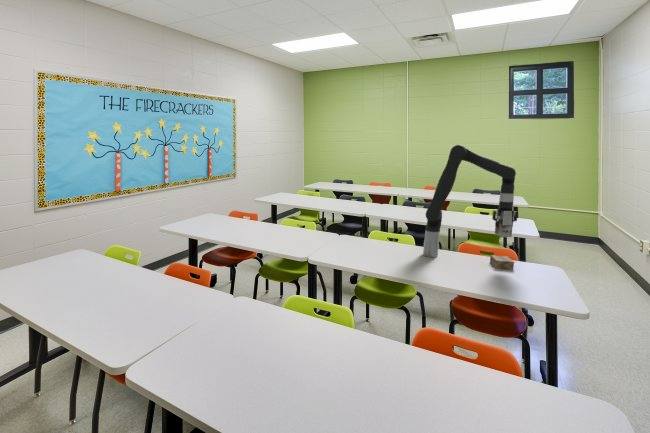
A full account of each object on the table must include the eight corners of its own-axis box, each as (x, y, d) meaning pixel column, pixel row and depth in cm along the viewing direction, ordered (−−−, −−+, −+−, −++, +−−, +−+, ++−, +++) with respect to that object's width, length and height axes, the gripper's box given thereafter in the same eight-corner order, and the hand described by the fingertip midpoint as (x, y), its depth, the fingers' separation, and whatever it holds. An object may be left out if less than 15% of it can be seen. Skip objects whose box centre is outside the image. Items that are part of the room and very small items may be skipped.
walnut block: (495, 268, 212) (496, 260, 212) (489, 262, 224) (490, 255, 223) (513, 269, 211) (514, 261, 210) (506, 263, 222) (507, 256, 222)
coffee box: (511, 237, 209) (514, 210, 206) (501, 237, 209) (503, 210, 207) (504, 234, 218) (507, 208, 215) (494, 233, 218) (496, 208, 216)
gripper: (495, 201, 208) (492, 228, 211) (521, 201, 205) (518, 229, 208) (491, 199, 215) (489, 226, 218) (517, 200, 213) (514, 227, 215)
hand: (503, 227), depth 213 cm, fingers closed on coffee box, 7 cm apart
